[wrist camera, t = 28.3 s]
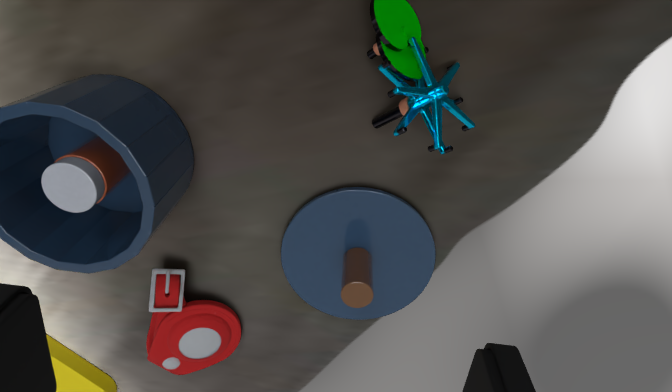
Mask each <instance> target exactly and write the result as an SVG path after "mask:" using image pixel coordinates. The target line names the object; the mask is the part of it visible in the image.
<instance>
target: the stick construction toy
mask: <svg viewBox="0 0 672 392" xmlns="http://www.w3.org/2000/svg"><path fill="white" fill-rule="evenodd" d="M370 15H371V20H372V24H373V26H374V29H375V31H376V33H377V34H376V43H375V44H374V45H373V48H372V49H371V50H369V51H368V52H367V56H368V57H369V58H370V59H373V58H374V57H376V56H377V55H378V56H381V57H382V59H383V61H384V63H382V64H381V65H379V66H378V69H379V70H380V71H381V72H382V73H383V74H384V75H385V76H386V77H387V78H388V79H389V80H390V81H391V82H392V83H393V84H394V85H396V86H397V87H396V88H395V89H393V90H391V91H389V92H388V97H390V98H391V97H393V96H395V95H397V94H399V95H406V96H407V97H406V98H404V99H403V100H401V101H400V103H399V106H398V107H396V108H394V109H393V110H391V111H389V112H387V113H385V114H383V115H381V116H379V117H377V118H375V119H373V121H372V124H373V126H374V127H375V128H379V127H382V126H384V125H386V124H388V123H390V122H392V121H394V120H396V119H398V118H400V117H402V116H404V117H403V118H402V120H401V121H400V123H399V124H398V126H397V127H396V129H395V130H394V132H393V134H394V135H395V136H398V135H400V134H403V133H405V132H406V131H407V128H406V127H407V126H408V124H409V123H410V122H411V121H412V120H413V119H414V117H415V116H416V115H417V114H418V113H419V112H420V113H421V115H422V117H423V119H424V121H425V123H426V125H427V127H428V129H429V131H430V133H431V135H432V137H433V140H434V144H433V145H431V146H429V147H428V150H429V151H430V152H432V151H434V150H437V149H438V150H439V152H440V153H441V154H445V153H448V152H450V151H452V150H453V147H452V146H448V147H445V145H444V143H443V141H442V107H445V108H446V109H447V110H448V111H449V112H451V113H452V114H453V115H454V116H455V117H456V118H458V119H459V120H460V121H461V122H462V123H464V124H465V125H464V126H462V130H463V131H466V130H469V129H471V128H474V127H475V124H474V123H473V122H472V121H471V120H470V119H469V118H468V117H467V116H466V115H465V114H464V113H463V112H462V111H461V110H460V109H459V108H458V107H457V106H456V105H457V104H459V103H462V102H463V99H462V98H461V97H460V98H458V99H456V100H450V99H449V98H448V97H447V94H448V93H449V88H448V85H449V83H450V82H451V80H452V78H453V77H454V75H455V73H456V72H457V70H458V68H459V67H460V64H459V63H458V62H457V63H455V64H453V65H451V66H449V67H447V72H446V74H445V75H444V76H443V77H442V78H441V79H440V81H439V82H437V81H436V79H435V77H434V75H433V73H432V71H431V69H430V67H429V65H428V63H427V61H426V55H425V53H427V52H428V51H429V50H428V48H427V47H425V48H424V46H423V43H422V41H421V39H420V38H421V27H420V23H419V20H418V18H417V16H416V14H415V12H414V10H413V9H412V7H411V6H410V5H409V3H408V2H407V1H406V0H371V3H370ZM388 67H389V68H388ZM401 78H402V79H405V80H407V81H415V87H411V86H410V85H408V84H407V83H406V82H405V81H404V80H402V79H401ZM424 79H425V81H426V83H427V86H428V87H425V82H424ZM429 107H432V115H431V112H430V110H429Z"/></svg>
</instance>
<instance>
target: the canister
mask: <svg viewBox="0 0 672 392" xmlns="http://www.w3.org/2000/svg"><path fill="white" fill-rule="evenodd" d="M96 134H97V135H98V136H99V137H100V138H101V139H103V140H104V141H105V142H106V143H107V144H108V145H110V146H111V147H112V148H113V149H114V150H116V151H117V152H118V153H119V154H120V156H121V157H122V159H123V160H124V162H125V163H126V165H127V166H128V168H129V169H130V170H131V172H132V174H131V175H130V176H128V177H127V178H126V179H125V180H124V181H123V182H122V183H121V184H120V185H118V186H117V187H116V188H115V189H114V190H113V191H112V192H111V193H109V194H108V195H107V196H106V197H105V198H104V199H103V200H102V201H100V202H99V203H97V204H95V205H94V206H93V207H92V208H90V209H89V210H87V211H84V212H79V213H73V212H68V211H65V210H62V209H60V208H59V207H57V206H56V205H54V204H53V203H52V202H51V201H50V200H49V199H48V198H47V196H46V195H45V193H44V191H43V188H42V183H41V179H42V175H43V172H44V171H45V169H46V168H47V167H48V166H50V165H51V164H53V163H54V162H55V161H56V160H57V159H58V158H60V157H61V156H63V155H64V154H66V153H68V152H69V151H71V150H72V149H74V148H75V147H77V146H79V145H80V144H82V143H83V142H85V141H87V140H88V139H90V138H91V137H93V136H94V135H96ZM193 169H194V156H193V149H192V144H191V140H190V138H189V135H188V132H187V130H186V128H185V126H184V124H183V123H182V121H181V120H180V118H179V117H178V115H177V114H176V112H175V111H174V110H173V109H172V108H171V107H170V105H169V104H168V103H167V102H165V101H164V100H163V99H162V98H161V97H160V96H159V95H157V94H156V93H155V92H153V91H152V90H150V89H148V88H147V87H145V86H143V85H141V84H139V83H137V82H135V81H133V80H130V79H127V78H123V77H119V76H114V75H104V74H98V75H89V76H84V77H80V78H78V79H74V80H70V81H67V82H64V83H61V84H59V85H56V86H54V87H51V88H49V89H46V90H43V91H41V92H38V93H36V94H33V95H31V96H28V97H25V98H23V99H20V100H18V101H15V102H12V103H10V104H7V105H5V106H2V107H0V238H1V239H2V240H3V241H5V242H6V243H7V244H9V245H10V246H12V247H13V248H14V249H16V250H17V251H19V252H20V253H21V254H23V255H24V256H26V257H28V258H29V259H31V260H34V261H36V262H39V263H41V264H44V265H46V266H49V267H51V268H54V269H56V270H63V271H71V272H79V273H88V274H89V273H95V272H100V271H106V270H111V269H115V268H117V267H119V266H121V265H122V264H124V263H125V262H127V261H129V260H130V259H132V258H134V257H135V256H137V255H138V254H139V253H140V251H141V250H142V249H143V247H144V246H145V245H146V244H147V242H148V241H149V240H150V238H151V237H152V236H153V235H154V233H155V232H156V231H157V229H158V228H159V227H160V226H161V224H162V223H163V222H164V220H165V219H166V218H167V217H168V215H169V214H170V213H171V211H172V210H173V209H174V208H175V206H176V205H177V204H178V202H179V201H180V199H181V198H182V196H183V195H184V193H185V192H186V190H187V189H188V187H189V184H190V181H191V179H192V174H193Z"/></svg>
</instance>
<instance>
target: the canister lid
mask: <svg viewBox="0 0 672 392" xmlns="http://www.w3.org/2000/svg"><path fill="white" fill-rule="evenodd" d="M435 257H436V251H435V244H434V240H433V237H432V233H431V231H430V229H429V227H428V225H427V223H426V221H425V220H424V219H423V217H422V216H421V215H420V214H419V212H418V211H417V210H416V209H415V208H414V207H412V206H411V205H410V204H409V203H407V202H406V201H404V200H403V199H401V198H399V197H397V196H395V195H393V194H391V193H388V192H385V191H382V190H378V189H373V188H366V187H349V188H342V189H336V190H333V191H330V192H327V193H324V194H322V195H320V196H318V197H316V198H314V199H313V200H311V201H309V202H308V203H307V204H305V205H304V206H303V207H302V208H301V209H300V210H299V211H298V212H297V213H296V214H295V215H294V217H293V218H292V220H291V221H290V222H289V224H288V226H287V228H286V231H285V234H284V237H283V240H282V246H281V261H282V267H283V270H284V273H285V276H286V278H287V280H288V282H289V284H290V285H291V287H292V288H293V289H294V291H295V292H296V293H297V294H298V295H299V296H300V297H301V298H302V299H303V300H304V301H305V302H307V303H308V304H310V305H311V306H313V307H314V308H316V309H318V310H320V311H322V312H324V313H327V314H329V315H332V316H336V317H340V318H346V319H356V320H360V319H373V318H378V317H382V316H386V315H389V314H392V313H394V312H396V311H398V310H400V309H402V308H404V307H405V306H407V305H408V304H410V303H411V302H412V301H413V300H415V299H416V298H417V297H418V295H420V294H421V293H422V291H423V290H424V288H425V287H426V286H427V284H428V282H429V280H430V278H431V276H432V273H433V270H434V266H435Z"/></svg>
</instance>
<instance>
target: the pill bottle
mask: <svg viewBox="0 0 672 392" xmlns="http://www.w3.org/2000/svg"><path fill="white" fill-rule="evenodd" d="M131 174H132V172H131V170H130V169H129V168H128V166H127V165H126V163H125V162H124V160H123V159H122V157H121V156H120V154H119V153H118V152H117V151H116V150H114V149H113V148H112V147H111V146H110V145H108V144H107V143H106V142H105V141H104V140H103V139H101V138H100V137H99V136H98V135H97V134H96V135H94V136H93V137H91V138H90V139H88V140H87V141H85V142H83V143H82V144H80V145H79V146H77V147H75V148H74V149H72V150H71V151H69V152H68V153H66V154H64V155H63V156H61V157H60V158H58V159H57V160H56V161H55V162H54V163H53V164H51V165H50V166H48V167H47V168H46V169H45V171H44V172H43V175H42V179H41V183H42V188H43V191H44V193H45V195H46V196H47V198H48V199H49V200H50V201H51V202H52V203H53V204H54V205H56V206H57V207H59V208H60V209H62V210H65V211H68V212H73V213H79V212H84V211H87V210H89V209H90V208H92V207H93V206H94V205H95V204H97V203H99V202H100V201H102V200H103V199H104V198H105V197H106V196H107V195H108V194H109V193H111V192H112V191H113V190H114V189H115V188H116V187H117V186H118V185H120V184H121V183H122V182H123V181H124V180H125V179H126V178H127V177H128V176H130V175H131Z"/></svg>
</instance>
